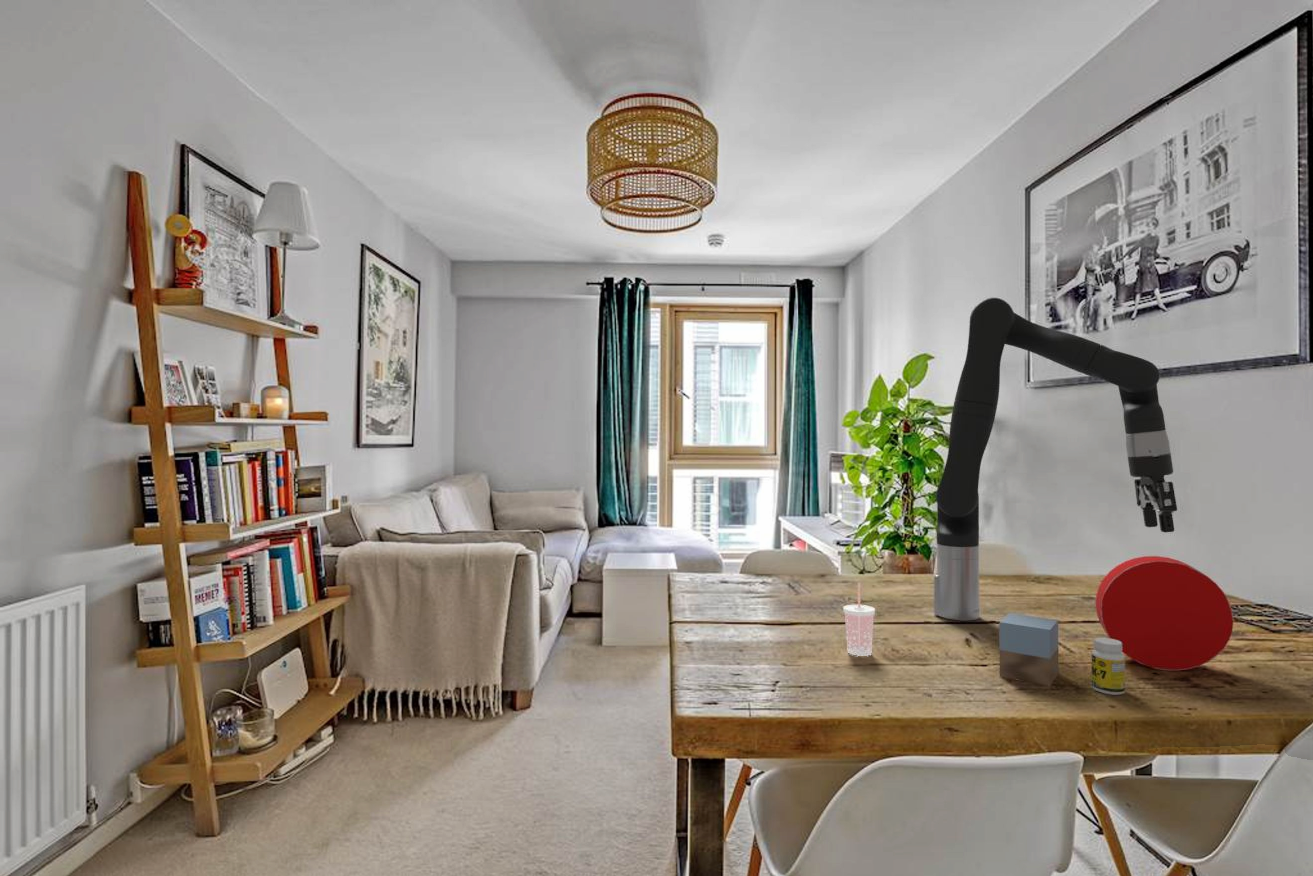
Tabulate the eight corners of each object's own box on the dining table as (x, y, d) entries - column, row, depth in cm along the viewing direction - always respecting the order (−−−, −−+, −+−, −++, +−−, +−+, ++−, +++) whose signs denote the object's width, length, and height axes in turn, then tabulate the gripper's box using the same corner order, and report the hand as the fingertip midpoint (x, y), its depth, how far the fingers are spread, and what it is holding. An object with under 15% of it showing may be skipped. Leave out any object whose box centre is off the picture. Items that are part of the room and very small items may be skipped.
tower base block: (999, 677, 124) (999, 649, 124) (1010, 665, 130) (1010, 639, 130) (1050, 687, 119) (1050, 658, 119) (1058, 674, 125) (1058, 647, 125)
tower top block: (999, 649, 124) (999, 622, 123) (1009, 639, 130) (1009, 612, 130) (1050, 658, 118) (1050, 629, 118) (1058, 647, 125) (1058, 620, 125)
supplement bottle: (1085, 685, 119) (1084, 637, 119) (1110, 684, 119) (1110, 636, 119) (1105, 696, 114) (1105, 645, 114) (1132, 695, 114) (1131, 644, 114)
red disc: (1222, 667, 128) (1221, 559, 127) (1233, 677, 122) (1233, 564, 122) (1095, 654, 136) (1095, 552, 136) (1101, 663, 130) (1100, 557, 130)
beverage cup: (875, 650, 139) (875, 580, 139) (875, 659, 134) (874, 587, 133) (844, 647, 141) (844, 579, 141) (842, 656, 136) (841, 585, 135)
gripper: (1116, 454, 154) (1127, 526, 154) (1140, 456, 141) (1152, 535, 140) (1155, 450, 152) (1166, 524, 152) (1183, 451, 139) (1195, 532, 138)
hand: (1159, 529), depth 146 cm, fingers open, 8 cm apart
